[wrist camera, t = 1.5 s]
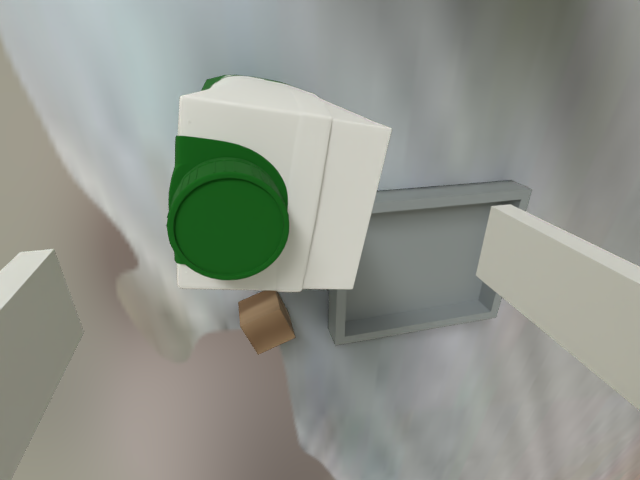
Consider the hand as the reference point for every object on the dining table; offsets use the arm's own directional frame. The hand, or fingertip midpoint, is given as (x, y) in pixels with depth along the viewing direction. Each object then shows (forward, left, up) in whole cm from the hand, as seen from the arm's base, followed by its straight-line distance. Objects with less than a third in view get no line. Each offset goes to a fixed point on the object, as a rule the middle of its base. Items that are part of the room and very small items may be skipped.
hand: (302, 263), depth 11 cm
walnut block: (+18, 0, -22) cm, 28 cm away
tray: (+14, +17, -22) cm, 31 cm away
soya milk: (0, 0, -22) cm, 22 cm away
